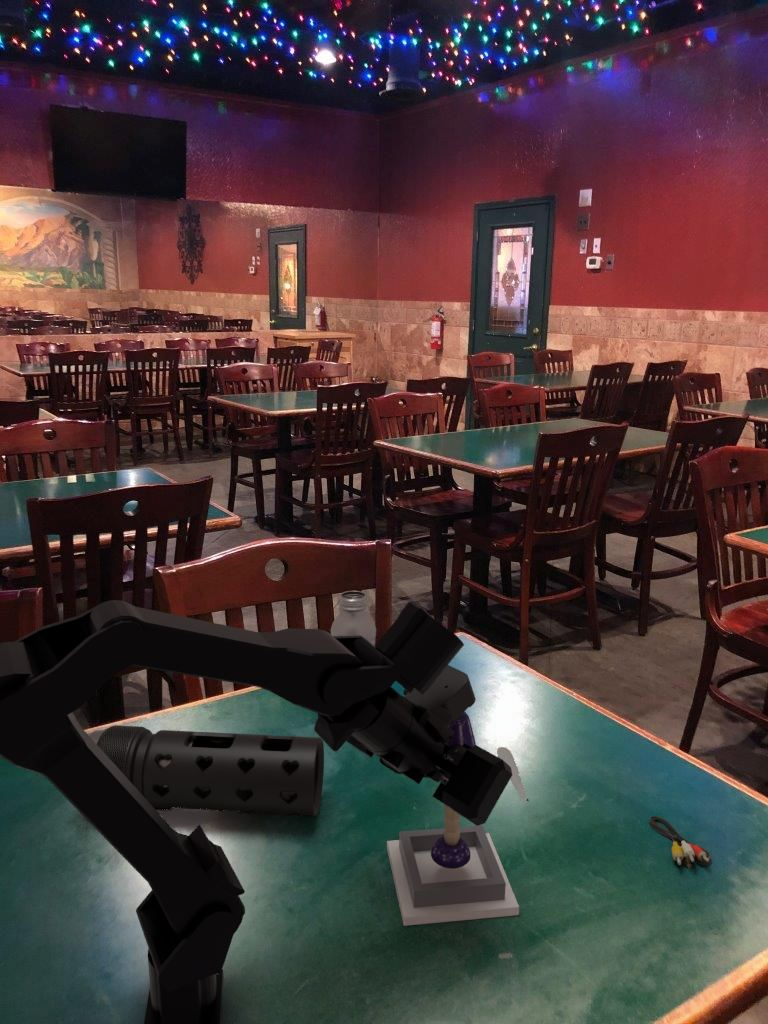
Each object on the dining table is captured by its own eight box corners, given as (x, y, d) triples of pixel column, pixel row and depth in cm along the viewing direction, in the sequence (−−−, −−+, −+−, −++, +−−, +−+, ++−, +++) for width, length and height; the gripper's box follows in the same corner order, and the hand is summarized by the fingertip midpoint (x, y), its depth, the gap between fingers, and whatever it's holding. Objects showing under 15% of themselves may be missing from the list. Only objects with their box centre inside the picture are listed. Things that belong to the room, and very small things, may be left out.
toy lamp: (421, 863, 88) (428, 721, 83) (431, 836, 92) (438, 700, 88) (466, 872, 86) (475, 729, 82) (474, 845, 91) (483, 708, 86)
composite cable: (644, 822, 101) (645, 804, 100) (682, 820, 101) (684, 803, 101) (677, 877, 92) (679, 858, 91) (719, 876, 92) (721, 857, 91)
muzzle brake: (313, 841, 96) (312, 763, 94) (79, 828, 98) (71, 751, 95) (324, 793, 105) (324, 720, 103) (110, 782, 107) (104, 710, 104)
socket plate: (518, 915, 85) (520, 890, 84) (403, 925, 84) (404, 900, 83) (488, 840, 97) (489, 818, 96) (386, 848, 95) (387, 825, 94)
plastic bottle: (323, 716, 124) (322, 590, 119) (364, 707, 127) (365, 584, 122) (339, 736, 118) (339, 606, 113) (382, 727, 121) (384, 599, 116)
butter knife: (515, 746, 116) (494, 745, 116) (576, 881, 91) (549, 881, 90) (515, 749, 117) (494, 749, 116) (575, 885, 91) (548, 885, 90)
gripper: (505, 685, 73) (569, 753, 83) (368, 622, 87) (437, 687, 97) (439, 796, 70) (514, 853, 80) (307, 713, 84) (386, 770, 94)
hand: (460, 783), depth 88 cm, fingers closed on toy lamp, 4 cm apart
